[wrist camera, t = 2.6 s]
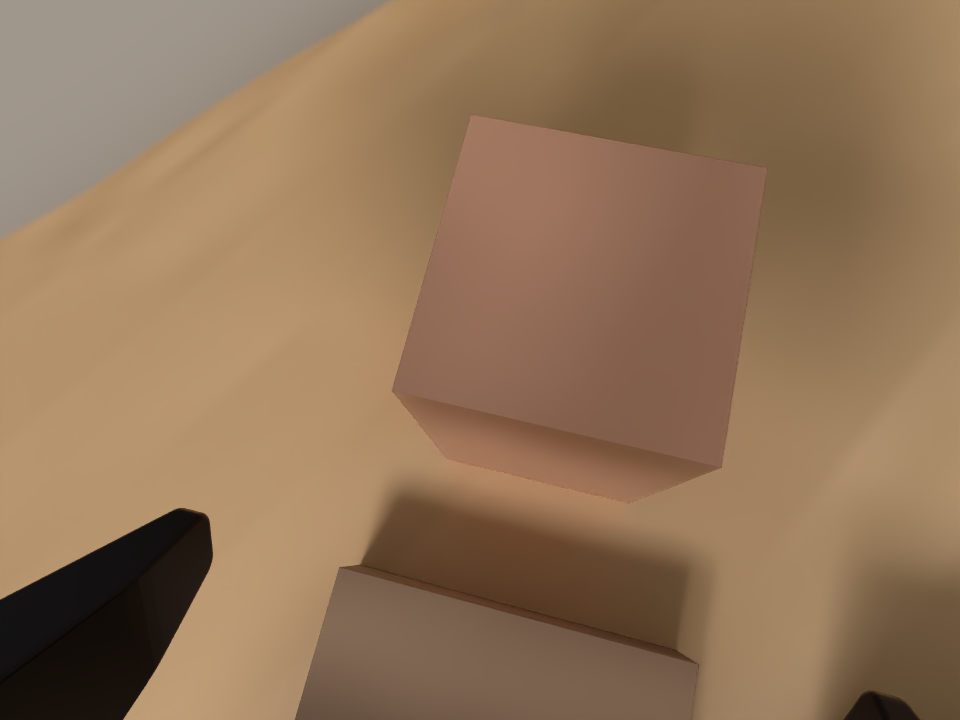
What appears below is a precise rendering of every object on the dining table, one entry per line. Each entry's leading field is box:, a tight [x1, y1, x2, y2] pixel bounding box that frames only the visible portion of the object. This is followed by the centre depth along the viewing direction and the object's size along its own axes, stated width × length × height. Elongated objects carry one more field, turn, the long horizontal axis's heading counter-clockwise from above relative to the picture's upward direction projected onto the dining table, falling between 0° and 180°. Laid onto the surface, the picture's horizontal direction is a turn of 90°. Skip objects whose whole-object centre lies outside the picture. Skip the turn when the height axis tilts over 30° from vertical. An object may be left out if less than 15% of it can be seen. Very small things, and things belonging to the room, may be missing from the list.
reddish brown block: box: [392, 115, 767, 503], centre depth 17 cm, size 6×6×10 cm
